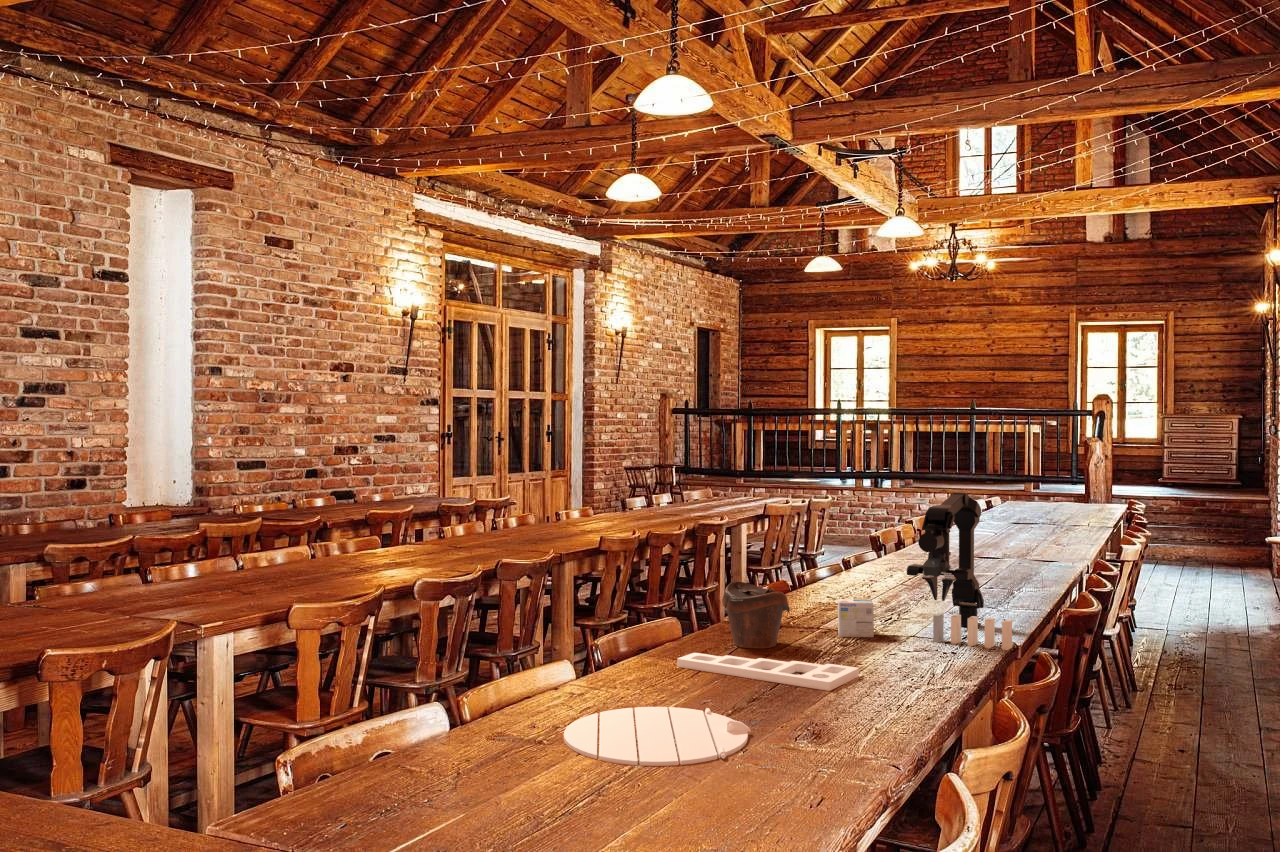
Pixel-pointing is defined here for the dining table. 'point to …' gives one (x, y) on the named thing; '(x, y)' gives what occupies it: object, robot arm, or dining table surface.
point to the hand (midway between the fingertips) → (939, 600)
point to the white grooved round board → (656, 736)
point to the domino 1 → (938, 627)
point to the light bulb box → (855, 618)
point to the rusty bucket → (754, 614)
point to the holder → (772, 670)
